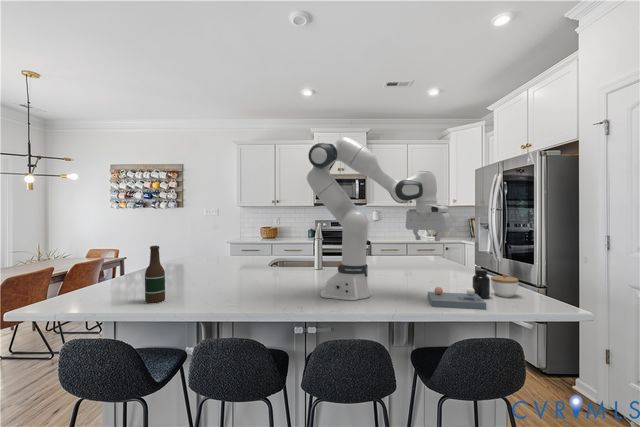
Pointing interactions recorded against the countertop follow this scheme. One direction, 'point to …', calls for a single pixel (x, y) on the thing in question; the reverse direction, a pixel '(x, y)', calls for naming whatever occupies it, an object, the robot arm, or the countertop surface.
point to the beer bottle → (154, 278)
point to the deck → (456, 300)
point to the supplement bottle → (481, 283)
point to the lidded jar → (504, 285)
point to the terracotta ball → (438, 290)
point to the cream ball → (470, 291)
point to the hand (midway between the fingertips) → (427, 240)
